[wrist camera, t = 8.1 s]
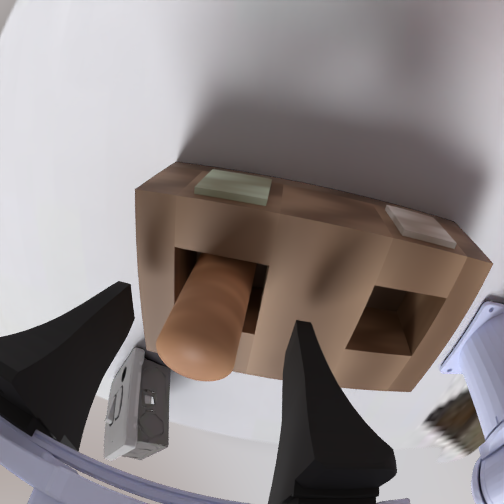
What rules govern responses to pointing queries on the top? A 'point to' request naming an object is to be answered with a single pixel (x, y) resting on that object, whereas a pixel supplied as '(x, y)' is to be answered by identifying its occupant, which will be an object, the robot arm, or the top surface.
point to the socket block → (311, 270)
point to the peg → (207, 319)
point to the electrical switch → (137, 409)
